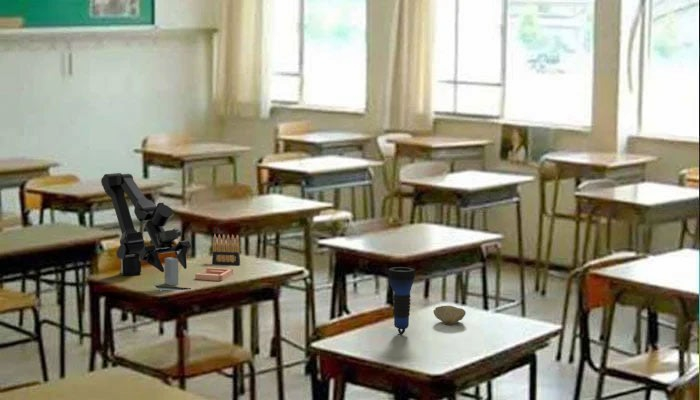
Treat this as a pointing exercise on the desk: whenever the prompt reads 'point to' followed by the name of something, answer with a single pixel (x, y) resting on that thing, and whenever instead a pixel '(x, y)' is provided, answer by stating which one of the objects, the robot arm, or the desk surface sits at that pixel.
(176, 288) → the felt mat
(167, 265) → the grey rectangular block
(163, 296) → the desk surface
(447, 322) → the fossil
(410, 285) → the flashlight
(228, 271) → the slotted box
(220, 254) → the ammunition clip
